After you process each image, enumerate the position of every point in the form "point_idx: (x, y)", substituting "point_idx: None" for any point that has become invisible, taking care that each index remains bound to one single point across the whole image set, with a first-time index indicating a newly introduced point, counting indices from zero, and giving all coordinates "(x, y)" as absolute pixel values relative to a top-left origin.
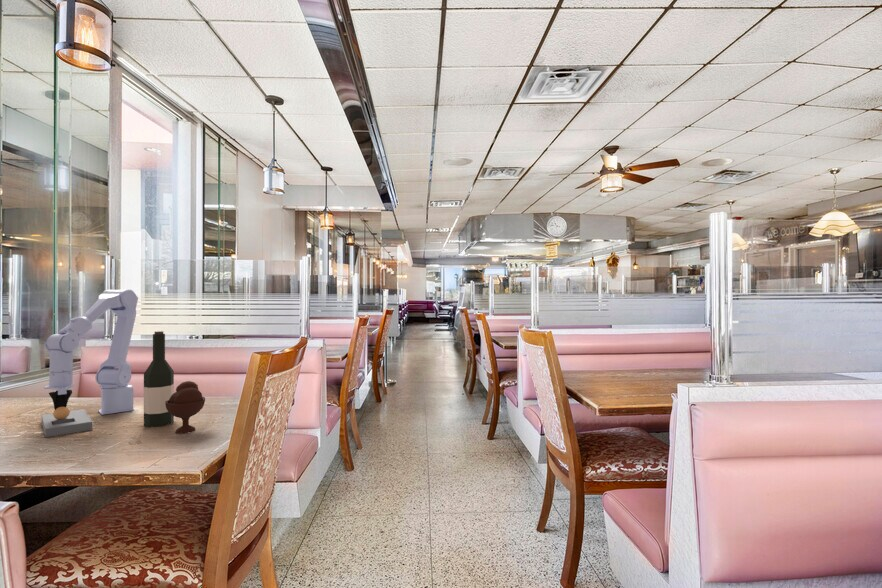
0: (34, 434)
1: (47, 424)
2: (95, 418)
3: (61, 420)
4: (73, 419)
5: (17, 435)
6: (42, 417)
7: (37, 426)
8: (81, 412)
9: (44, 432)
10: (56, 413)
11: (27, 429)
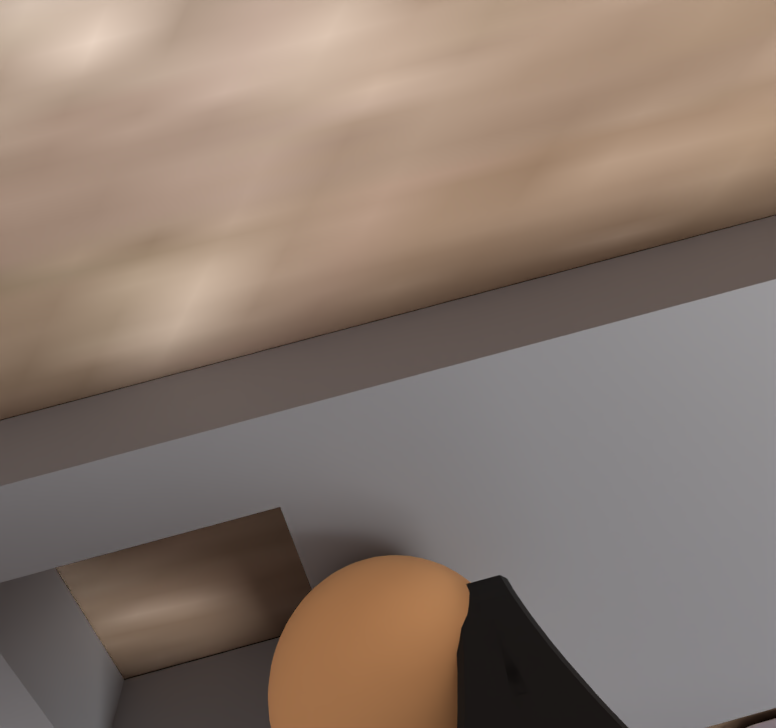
0: (47, 286)
1: (40, 516)
2: None
3: None
4: None
5: (83, 18)
6: (754, 285)
7: (640, 188)
8: (702, 696)
9: (9, 427)
10: (286, 677)
11: (507, 80)
